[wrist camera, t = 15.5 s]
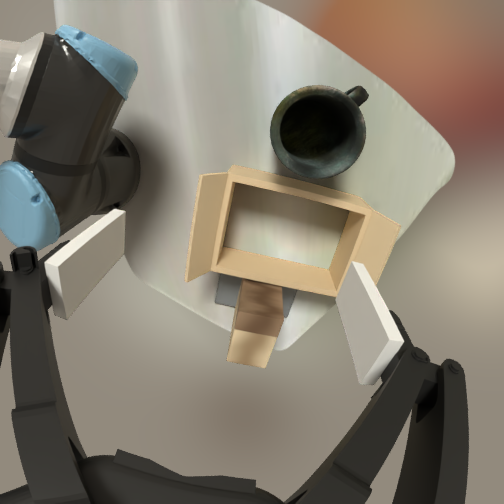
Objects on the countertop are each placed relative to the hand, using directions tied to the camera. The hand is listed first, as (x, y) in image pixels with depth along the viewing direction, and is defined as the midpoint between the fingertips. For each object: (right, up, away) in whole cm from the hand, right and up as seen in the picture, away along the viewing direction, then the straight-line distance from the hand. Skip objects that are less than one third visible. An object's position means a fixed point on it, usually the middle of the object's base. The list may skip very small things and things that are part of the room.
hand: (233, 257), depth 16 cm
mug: (+10, +20, +24) cm, 33 cm away
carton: (+7, +5, +31) cm, 32 cm away
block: (+2, -6, +36) cm, 37 cm away
